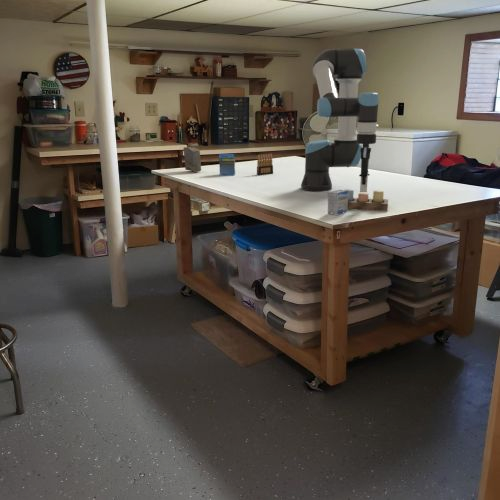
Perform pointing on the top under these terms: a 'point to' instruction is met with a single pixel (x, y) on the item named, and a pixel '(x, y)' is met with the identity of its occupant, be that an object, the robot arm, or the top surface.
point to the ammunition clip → (264, 165)
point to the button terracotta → (362, 197)
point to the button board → (368, 205)
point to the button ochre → (378, 196)
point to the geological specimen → (192, 159)
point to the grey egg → (350, 194)
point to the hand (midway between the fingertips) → (363, 191)
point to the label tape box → (227, 164)
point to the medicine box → (337, 201)
